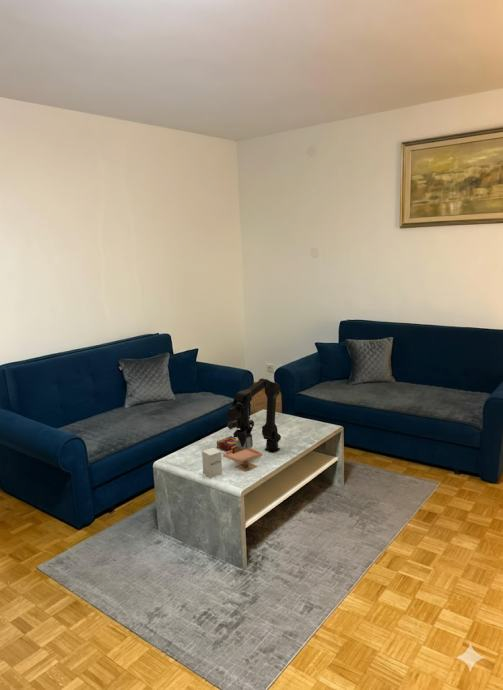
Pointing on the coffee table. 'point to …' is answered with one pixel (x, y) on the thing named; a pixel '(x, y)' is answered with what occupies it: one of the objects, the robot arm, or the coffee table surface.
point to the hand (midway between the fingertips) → (244, 443)
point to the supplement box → (212, 462)
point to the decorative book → (228, 444)
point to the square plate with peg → (246, 466)
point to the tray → (243, 455)
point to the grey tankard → (247, 444)
